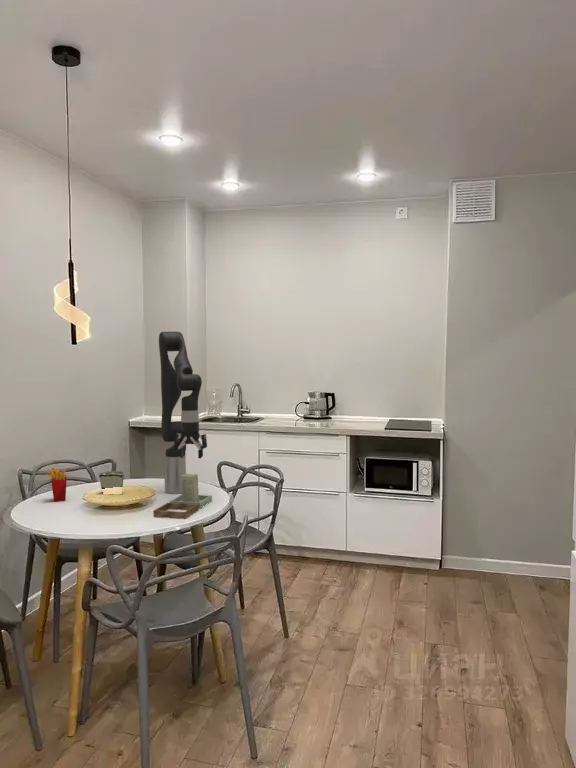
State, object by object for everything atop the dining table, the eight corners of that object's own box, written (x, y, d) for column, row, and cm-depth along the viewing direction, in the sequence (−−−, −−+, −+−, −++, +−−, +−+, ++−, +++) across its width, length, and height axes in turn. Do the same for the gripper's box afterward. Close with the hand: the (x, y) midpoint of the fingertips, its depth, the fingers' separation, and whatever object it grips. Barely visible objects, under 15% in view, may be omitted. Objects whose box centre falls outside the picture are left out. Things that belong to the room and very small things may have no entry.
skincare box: (199, 501, 262) (198, 474, 261) (195, 504, 258) (194, 476, 257) (185, 501, 264) (185, 473, 263) (181, 503, 259) (180, 475, 259)
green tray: (169, 507, 256) (169, 501, 256) (182, 499, 269) (182, 494, 268) (200, 508, 253) (200, 503, 252) (211, 501, 265) (211, 495, 265)
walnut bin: (153, 516, 241) (153, 510, 241) (167, 508, 254) (167, 502, 254) (185, 518, 238) (185, 512, 238) (198, 510, 251) (198, 504, 250)
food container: (129, 491, 285) (128, 470, 285) (124, 494, 279) (123, 473, 279) (104, 491, 287) (103, 470, 286) (99, 494, 280) (98, 473, 280)
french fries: (67, 497, 275) (66, 465, 274) (67, 501, 268) (66, 468, 267) (46, 499, 272) (45, 466, 271) (46, 504, 264) (45, 470, 263)
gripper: (208, 419, 261) (209, 456, 262) (178, 419, 264) (179, 455, 265) (202, 422, 254) (202, 460, 255) (171, 421, 257) (171, 458, 258)
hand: (190, 457), depth 260 cm, fingers open, 8 cm apart
